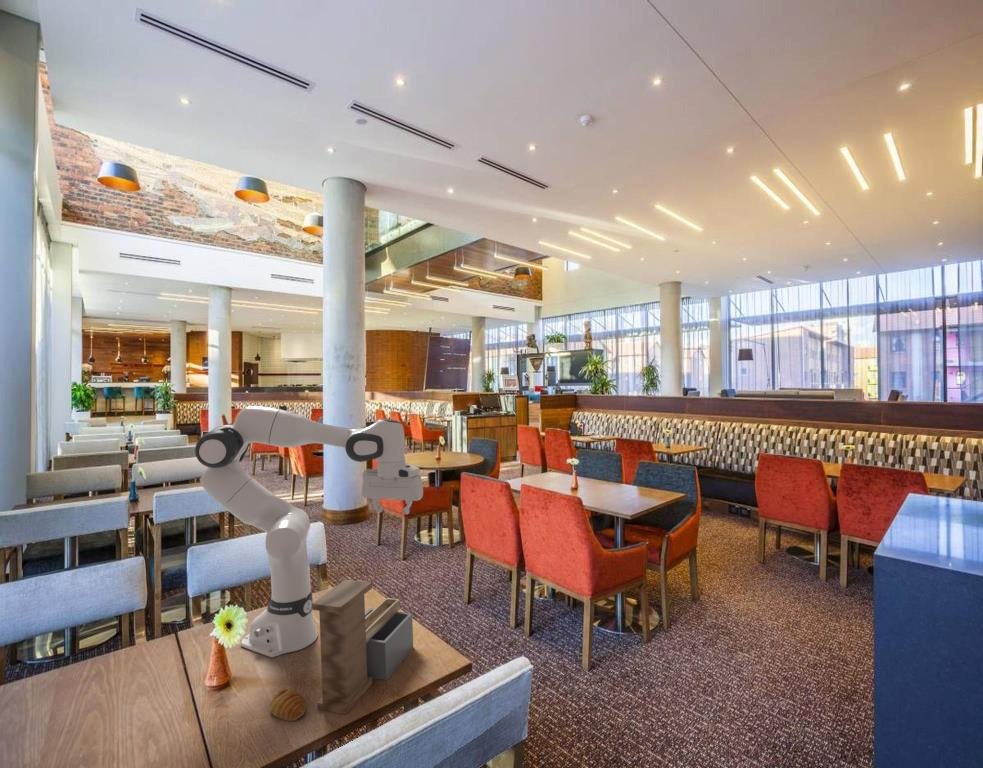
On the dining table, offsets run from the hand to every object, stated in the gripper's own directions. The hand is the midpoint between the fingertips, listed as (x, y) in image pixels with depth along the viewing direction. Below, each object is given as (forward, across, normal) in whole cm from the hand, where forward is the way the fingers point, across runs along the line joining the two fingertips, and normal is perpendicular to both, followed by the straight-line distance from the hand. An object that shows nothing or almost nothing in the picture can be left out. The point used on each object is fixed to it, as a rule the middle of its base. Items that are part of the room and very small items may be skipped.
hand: (392, 512), depth 153 cm
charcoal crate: (+37, +3, -16) cm, 41 cm away
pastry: (+38, -8, -40) cm, 56 cm away
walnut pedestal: (+37, +3, -32) cm, 49 cm away
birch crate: (+27, +3, -16) cm, 32 cm away
